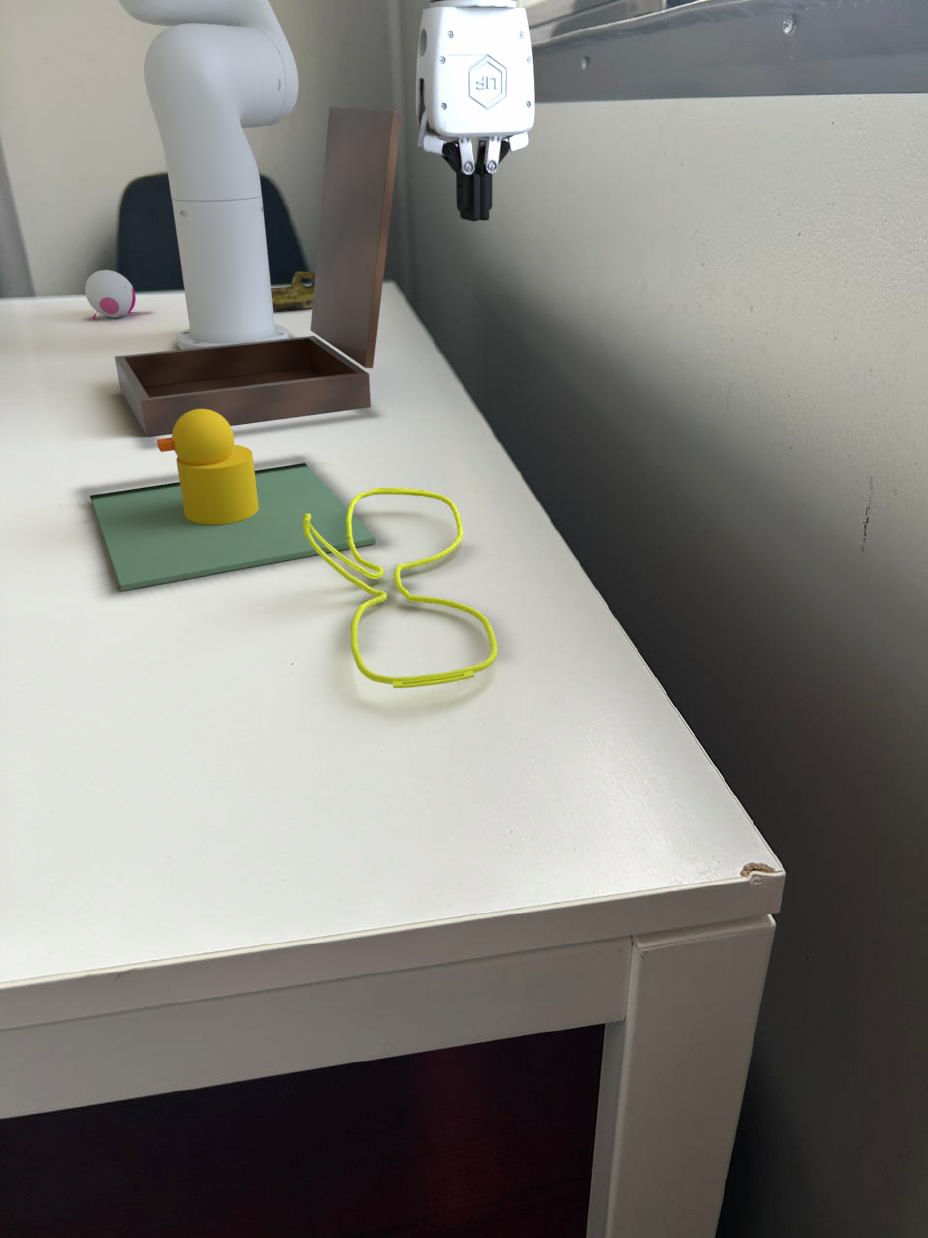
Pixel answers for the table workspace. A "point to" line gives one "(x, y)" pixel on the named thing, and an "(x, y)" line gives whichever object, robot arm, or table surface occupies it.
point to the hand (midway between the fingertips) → (474, 218)
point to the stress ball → (110, 294)
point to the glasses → (399, 681)
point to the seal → (294, 294)
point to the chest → (241, 382)
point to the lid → (354, 228)
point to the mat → (219, 529)
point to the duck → (212, 469)
